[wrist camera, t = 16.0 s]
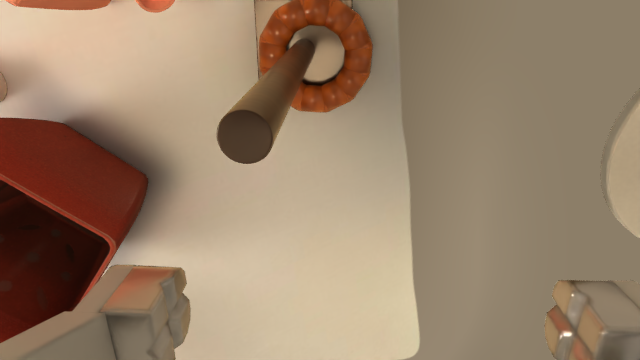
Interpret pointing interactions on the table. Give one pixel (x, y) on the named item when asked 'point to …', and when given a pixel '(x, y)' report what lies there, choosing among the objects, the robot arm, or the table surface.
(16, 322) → the flower pot
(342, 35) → the ring
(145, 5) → the teapot
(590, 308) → the robot arm
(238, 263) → the table surface
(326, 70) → the stand
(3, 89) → the chalice
